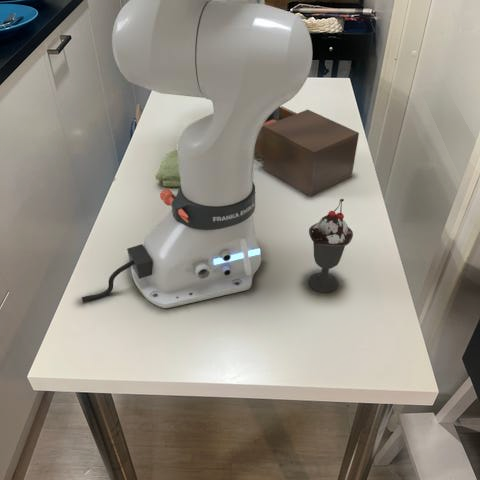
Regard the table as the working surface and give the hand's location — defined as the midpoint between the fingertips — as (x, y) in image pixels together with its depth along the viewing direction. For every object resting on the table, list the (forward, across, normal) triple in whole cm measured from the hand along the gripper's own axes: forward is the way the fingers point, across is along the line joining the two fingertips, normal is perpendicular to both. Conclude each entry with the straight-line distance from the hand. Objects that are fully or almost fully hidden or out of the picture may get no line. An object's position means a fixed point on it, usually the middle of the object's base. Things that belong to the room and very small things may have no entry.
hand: (228, 42), depth 108 cm
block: (+17, -15, 0) cm, 23 cm away
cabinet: (+19, -27, 0) cm, 33 cm away
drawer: (+19, -15, 0) cm, 24 cm away
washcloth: (+20, -13, +18) cm, 29 cm away
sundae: (+19, -54, +23) cm, 62 cm away
